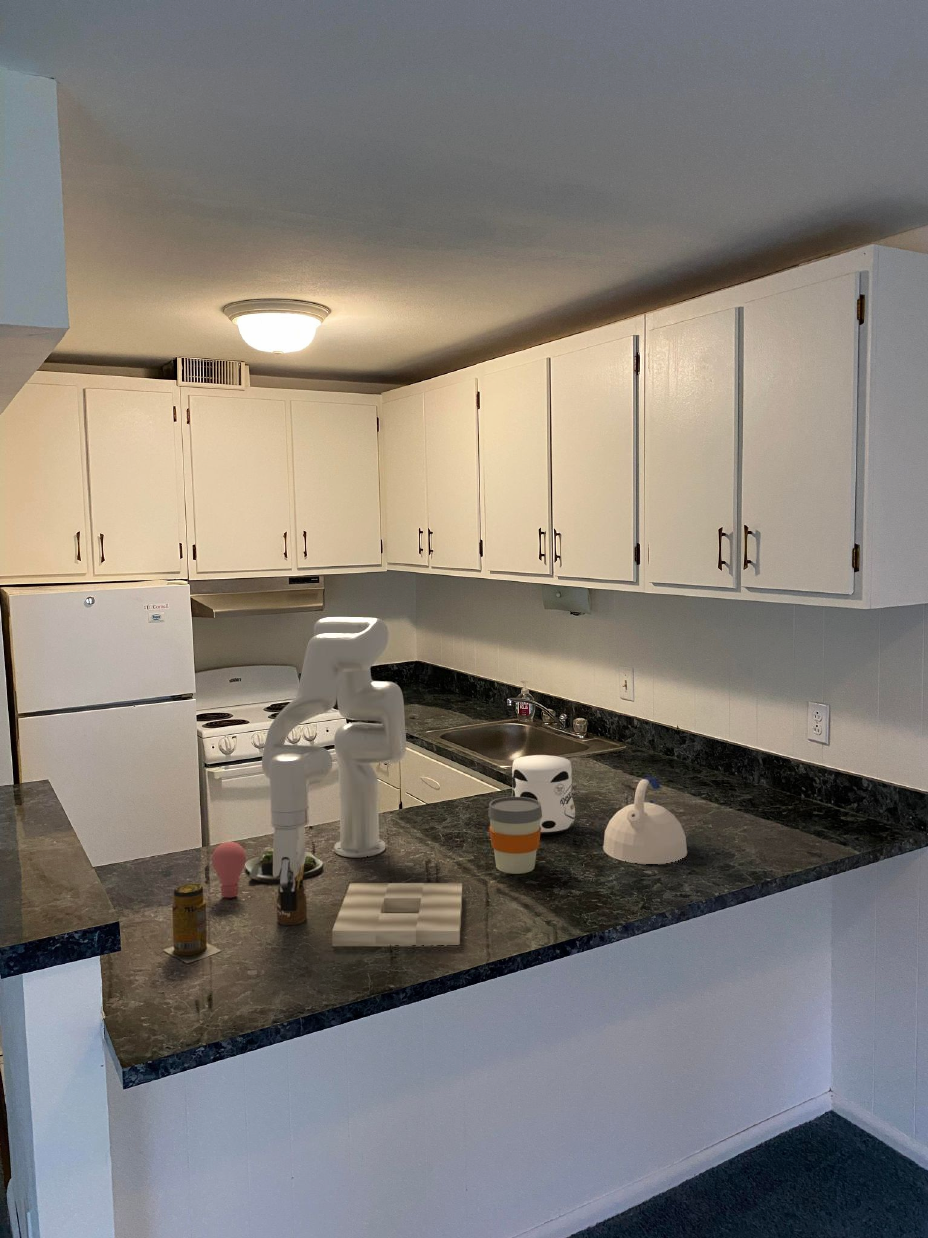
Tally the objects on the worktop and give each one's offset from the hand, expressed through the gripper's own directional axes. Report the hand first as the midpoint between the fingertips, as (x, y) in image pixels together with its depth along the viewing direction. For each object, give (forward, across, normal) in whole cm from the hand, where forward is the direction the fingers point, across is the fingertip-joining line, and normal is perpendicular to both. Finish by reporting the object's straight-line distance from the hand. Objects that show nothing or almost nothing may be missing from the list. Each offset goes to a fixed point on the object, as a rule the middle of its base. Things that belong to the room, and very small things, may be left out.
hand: (292, 903), depth 186 cm
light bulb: (+4, -12, -16) cm, 20 cm away
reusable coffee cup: (+4, -30, +46) cm, 55 cm away
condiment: (+4, +14, -16) cm, 22 cm away
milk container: (+4, -58, +54) cm, 79 cm away
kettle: (+4, -41, +78) cm, 88 cm away
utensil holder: (+4, 0, 0) cm, 4 cm away
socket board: (+3, 0, +22) cm, 22 cm away
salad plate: (+4, -28, -8) cm, 29 cm away
